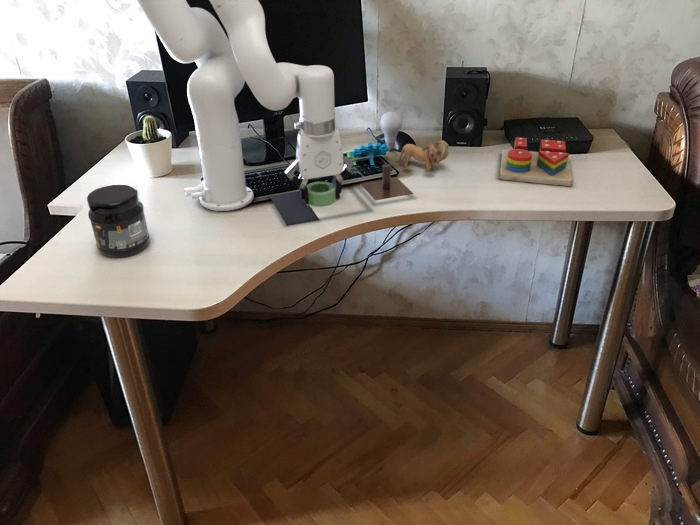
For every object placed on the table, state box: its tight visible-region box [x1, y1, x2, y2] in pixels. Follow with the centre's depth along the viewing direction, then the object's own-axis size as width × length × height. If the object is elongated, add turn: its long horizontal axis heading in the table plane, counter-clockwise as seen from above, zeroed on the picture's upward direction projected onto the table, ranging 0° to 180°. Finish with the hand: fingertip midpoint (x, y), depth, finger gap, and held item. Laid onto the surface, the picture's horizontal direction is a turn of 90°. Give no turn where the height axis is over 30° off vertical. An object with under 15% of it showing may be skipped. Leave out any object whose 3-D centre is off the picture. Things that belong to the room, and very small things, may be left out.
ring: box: [306, 181, 337, 208], centre depth 139 cm, size 7×7×4 cm
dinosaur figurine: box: [346, 142, 390, 166], centre depth 157 cm, size 11×6×10 cm
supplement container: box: [86, 183, 151, 258], centre depth 121 cm, size 10×10×12 cm
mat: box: [269, 191, 320, 226], centre depth 140 cm, size 20×15×1 cm
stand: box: [359, 163, 414, 201], centre depth 143 cm, size 10×10×7 cm
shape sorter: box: [499, 136, 573, 187], centre depth 155 cm, size 18×17×6 cm
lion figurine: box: [395, 140, 450, 172], centre depth 154 cm, size 15×5×9 cm, turn 67°
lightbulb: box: [379, 111, 403, 151], centre depth 165 cm, size 6×6×11 cm
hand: (320, 198), depth 139 cm, fingers closed on ring, 7 cm apart
